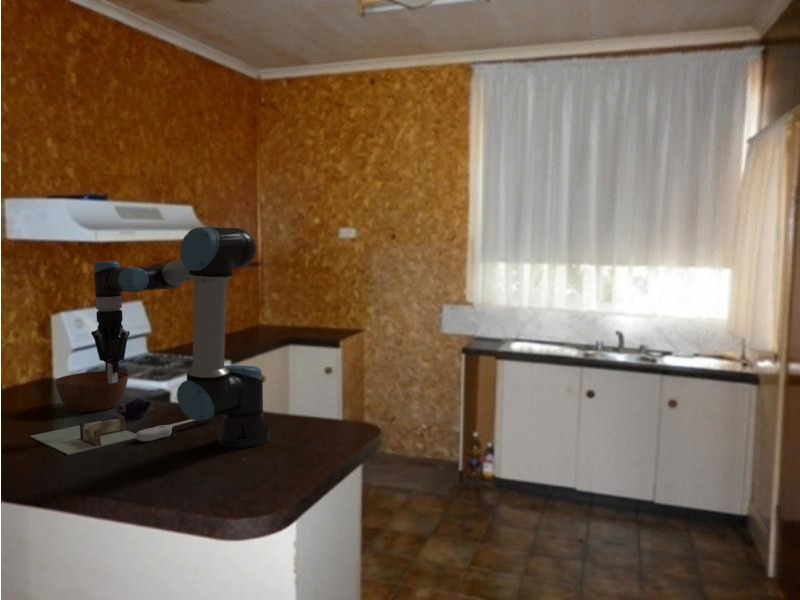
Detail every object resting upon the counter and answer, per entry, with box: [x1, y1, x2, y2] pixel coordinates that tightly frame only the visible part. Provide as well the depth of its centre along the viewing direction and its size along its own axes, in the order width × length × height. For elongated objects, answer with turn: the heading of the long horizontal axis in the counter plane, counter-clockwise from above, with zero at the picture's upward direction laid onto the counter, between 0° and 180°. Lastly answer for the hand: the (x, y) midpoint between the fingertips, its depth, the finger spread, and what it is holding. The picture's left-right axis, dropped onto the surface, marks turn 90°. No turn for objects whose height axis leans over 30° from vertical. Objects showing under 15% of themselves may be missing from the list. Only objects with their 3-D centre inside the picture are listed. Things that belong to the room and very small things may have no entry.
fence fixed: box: [79, 421, 101, 446], centre depth 191 cm, size 11×1×6 cm, turn 50°
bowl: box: [54, 370, 129, 413], centre depth 236 cm, size 25×25×11 cm
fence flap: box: [87, 415, 126, 434], centre depth 199 cm, size 11×1×4 cm, turn 136°
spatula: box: [135, 418, 197, 443], centre depth 202 cm, size 28×6×3 cm, turn 145°
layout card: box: [30, 420, 136, 456], centre depth 198 cm, size 28×22×1 cm
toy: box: [115, 397, 155, 419], centre depth 221 cm, size 11×12×7 cm
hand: (113, 382), depth 202 cm, fingers closed
